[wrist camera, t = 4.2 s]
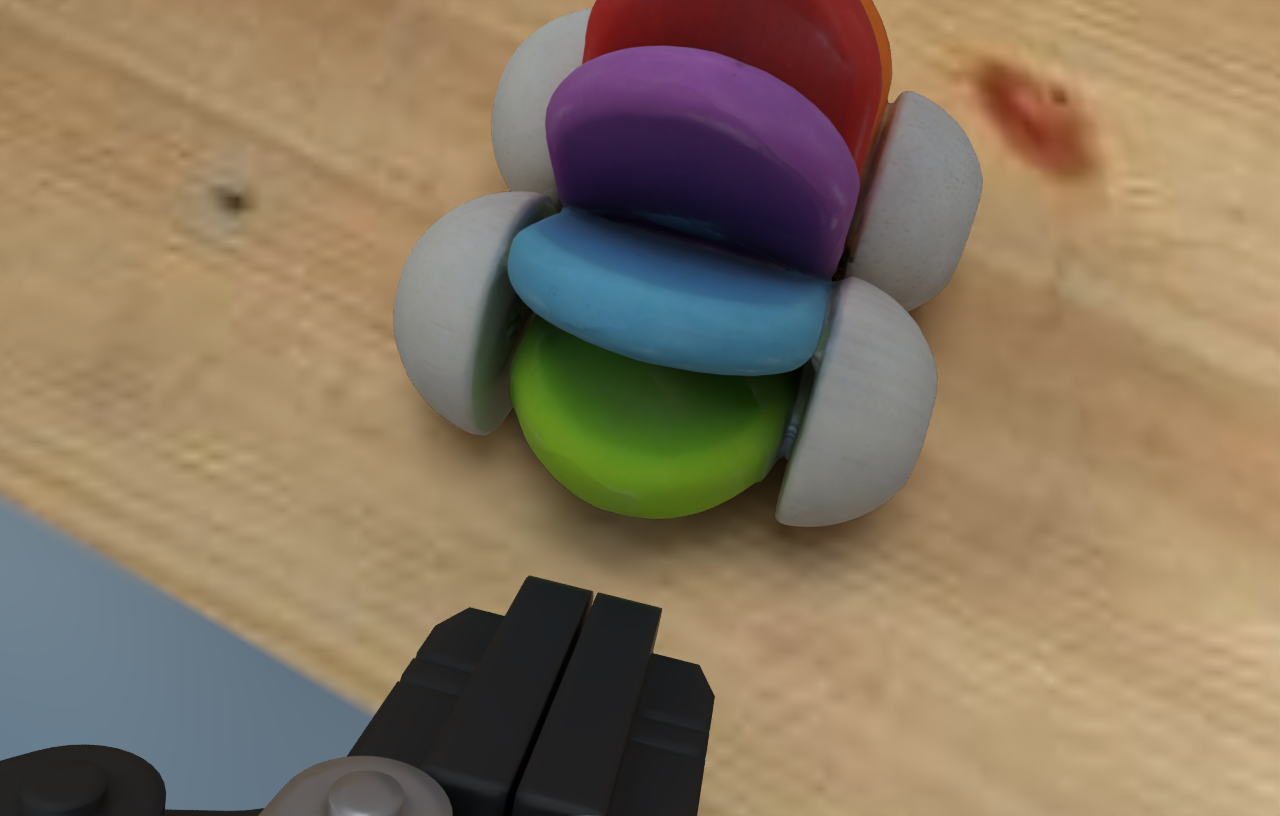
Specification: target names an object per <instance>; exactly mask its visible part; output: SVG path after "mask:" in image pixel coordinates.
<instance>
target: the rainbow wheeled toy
mask: <svg viewBox="0 0 1280 816" xmlns="http://www.w3.org/2000/svg"><path fill="white" fill-rule="evenodd" d="M891 80H892V61H891V51H890V45H889V41H888V37H887V34H886V30H885V28H884V25H883V22H882V19H881V17H880V15H879V13H878V11H877V9H876V7H875V5H874V3H873V1H872V0H596V2H595V4H594V6H593V8H592V9H585V10H581V11H576V12H571V13H569V14H566V15H564V16H561V17H559V18H556V19H554V20H552V21H550V22H548V23H547V24H545V25H544V26H542V27H541V28H539V29H538V30H536V31H535V32H534V33H533V34H531V35H530V36H529V37H528V38H527V39H526V40H525V41H524V42H523V43H522V44H521V45H520V46H519V47H518V49H517V50H516V51H515V52H514V54H513V55H512V57H511V59H510V60H509V62H508V63H507V66H506V68H505V70H504V72H503V75H502V77H501V80H500V83H499V85H498V88H497V92H496V97H495V101H494V105H493V112H492V120H491V135H492V144H493V150H494V154H495V158H496V161H497V164H498V167H499V169H500V171H501V174H502V176H503V178H504V180H505V182H506V184H507V185H508V187H509V189H510V190H511V191H508V192H501V193H495V194H490V195H486V196H482V197H479V198H476V199H473V200H471V201H468V202H466V203H464V204H462V205H460V206H458V207H456V208H454V209H453V210H451V211H450V212H448V213H447V214H445V215H444V216H442V217H441V218H440V219H439V220H438V221H437V222H435V223H434V224H433V225H432V226H431V227H430V228H429V229H428V230H427V231H426V232H425V233H424V234H423V236H422V237H421V238H420V239H419V240H418V242H417V243H416V245H415V246H414V248H413V250H412V251H411V253H410V255H409V257H408V259H407V261H406V263H405V266H404V269H403V271H402V274H401V277H400V280H399V284H398V289H397V293H396V297H395V304H394V312H393V321H394V333H395V340H396V344H397V348H398V351H399V354H400V357H401V360H402V363H403V365H404V368H405V370H406V373H407V375H408V377H409V378H410V380H411V382H412V383H413V385H414V387H415V388H416V389H417V391H418V392H419V393H420V395H421V396H422V397H423V398H424V400H425V401H426V402H427V403H428V404H429V405H430V406H431V407H432V408H433V409H434V410H435V411H436V412H437V413H439V414H440V415H441V416H442V417H444V418H445V419H446V420H448V421H449V422H451V423H452V424H454V425H456V426H457V427H459V428H461V429H463V430H465V431H467V432H469V433H471V434H475V435H487V434H489V433H490V432H492V431H494V430H495V429H497V428H498V427H499V426H500V424H501V423H502V422H503V421H504V419H505V418H506V417H507V415H508V414H509V413H510V411H511V409H512V408H514V410H515V412H516V414H517V417H518V420H519V423H520V426H521V429H522V431H523V433H524V436H525V438H526V440H527V442H528V444H529V445H530V447H531V449H532V450H533V452H534V453H535V455H536V456H537V457H538V459H539V460H540V461H541V463H542V464H543V465H544V467H545V468H546V469H547V470H548V471H549V472H550V474H551V475H552V476H553V477H554V478H555V479H556V480H557V481H558V482H560V483H561V484H562V485H563V486H564V487H565V488H566V489H568V490H569V491H570V492H572V493H573V494H574V495H575V496H577V497H578V498H580V499H582V500H584V501H585V502H587V503H589V504H591V505H593V506H595V507H597V508H599V509H602V510H606V511H610V512H614V513H618V514H622V515H626V516H632V517H641V518H653V519H665V518H677V517H682V516H687V515H691V514H695V513H699V512H702V511H705V510H708V509H710V508H713V507H715V506H717V505H719V504H721V503H723V502H725V501H727V500H729V499H731V498H733V497H734V496H736V495H738V494H739V493H741V492H743V491H744V490H746V489H747V488H748V487H750V486H751V485H752V484H754V483H756V482H760V481H762V480H763V479H764V478H765V477H766V476H767V474H768V473H769V472H770V470H771V469H772V467H773V466H774V464H775V462H776V461H777V460H778V459H779V458H781V457H785V458H786V459H787V460H788V462H787V466H786V469H785V473H784V477H783V481H782V485H781V489H780V493H779V497H778V501H777V505H776V509H775V517H776V519H777V520H778V522H780V523H782V524H785V525H790V526H801V527H818V526H827V525H833V524H838V523H842V522H846V521H850V520H853V519H855V518H858V517H860V516H862V515H865V514H867V513H869V512H870V511H872V510H874V509H876V508H877V507H879V506H880V505H882V504H883V503H885V502H886V501H888V500H889V499H891V498H892V497H893V496H894V495H895V494H896V493H897V492H898V491H899V490H900V489H901V488H902V487H903V486H904V485H905V483H906V481H907V480H908V478H909V476H910V474H911V472H912V470H913V468H914V466H915V464H916V461H917V459H918V456H919V453H920V450H921V448H922V445H923V442H924V439H925V435H926V432H927V429H928V425H929V422H930V419H931V415H932V411H933V407H934V403H935V398H936V391H937V370H936V366H935V362H934V358H933V355H932V353H931V350H930V348H929V345H928V343H927V341H926V339H925V337H924V335H923V333H922V332H921V330H920V328H919V326H918V325H917V323H916V322H915V321H914V320H913V318H912V317H911V316H910V314H909V313H908V312H909V311H911V310H913V309H915V308H917V307H919V306H921V305H922V304H924V303H925V302H927V301H928V300H930V299H931V298H933V297H934V296H936V295H937V294H938V293H940V292H941V291H942V289H943V288H944V287H945V286H946V285H947V284H948V283H949V281H950V279H951V277H952V275H953V273H954V271H955V269H956V267H957V264H958V262H959V260H960V257H961V255H962V252H963V249H964V247H965V244H966V242H967V239H968V236H969V233H970V230H971V227H972V224H973V220H974V217H975V214H976V211H977V208H978V204H979V201H980V196H981V191H982V184H983V179H982V173H981V168H980V164H979V161H978V159H977V156H976V153H975V151H974V149H973V146H972V144H971V142H970V140H969V139H968V137H967V135H966V134H965V132H964V131H963V130H962V128H961V127H960V126H959V124H958V123H957V122H956V121H955V120H954V119H953V118H952V117H951V116H950V115H949V114H948V113H947V112H946V111H945V110H944V109H942V108H941V107H940V106H938V105H937V104H935V103H934V102H932V101H931V100H929V99H927V98H926V97H924V96H922V95H920V94H918V93H915V92H913V91H905V92H902V93H901V94H900V95H899V96H898V98H897V99H896V100H895V102H894V103H888V99H887V98H888V94H889V89H890V85H891ZM837 266H838V267H840V268H841V273H840V278H839V281H836V282H832V281H831V278H832V277H833V275H834V274H835V272H836V268H837Z"/></svg>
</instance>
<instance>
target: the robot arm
mask: <svg viewBox="0 0 1280 816" xmlns="http://www.w3.org/2000/svg"><path fill="white" fill-rule="evenodd" d="M592 601H593V591H590V590H586V589H582V588H578V587H574V586H570V585H566V584H562V583H558V582H554V581H550V580H546V579H541V578H537V577H533V576H528V577H527V578H526V580H525V581H524V583H523V585H522V587H521V588H520V590H519V592H518V594H517V596H516V597H515V599H514V601H513V603H512V604H511V606H510V608H509V610H508V612H507V613H506V615H505V616H502V615H498V614H494V613H490V612H486V611H482V610H478V609H474V608H470V607H469V608H467V609H466V610H464V611H462V612H460V613H458V614H456V615H454V616H453V617H451V618H449V619H447V620H445V621H443V622H441V623H440V624H438V625H436V626H435V627H434V628H433V630H432V631H431V633H430V634H429V636H428V637H427V639H426V640H425V642H424V643H423V645H422V646H421V648H420V649H419V651H418V652H417V655H416V658H415V659H414V658H413V659H412V661H411V662H410V664H409V665H408V667H407V668H406V670H405V671H404V673H403V674H402V677H401V680H400V682H399V681H398V682H397V683H396V685H395V686H394V688H393V689H392V690H391V692H390V693H389V695H388V696H387V698H386V699H385V701H384V702H383V704H382V705H381V707H380V708H379V710H378V711H377V713H376V714H375V716H374V717H373V719H372V720H371V721H370V723H369V725H368V726H367V727H366V729H365V730H364V732H363V733H362V735H361V736H360V738H359V739H358V741H357V742H356V744H355V745H354V747H353V748H352V749H351V751H350V753H349V754H348V755H347V757H342V758H338V759H332V760H328V761H325V762H322V763H319V764H316V765H314V766H312V767H310V768H308V769H306V770H304V771H302V772H301V773H299V774H298V775H297V776H295V777H293V779H291V780H290V781H289V782H288V783H287V784H286V785H285V786H284V787H283V788H282V789H281V790H280V791H279V793H278V794H277V795H276V796H275V797H274V799H272V801H271V802H270V803H269V804H268V805H267V806H266V807H265V808H262V809H255V810H245V811H206V810H165V801H166V790H165V786H164V782H163V780H162V778H161V776H160V774H159V773H158V771H157V770H156V769H155V768H154V767H153V766H152V765H151V764H149V763H148V762H147V761H145V760H144V759H143V758H141V757H139V756H137V755H135V754H133V753H130V752H127V751H124V750H121V749H118V748H112V747H107V746H100V745H99V746H98V745H66V746H59V747H51V748H47V749H43V750H38V751H34V752H31V753H27V754H23V755H20V756H16V757H12V758H9V759H5V760H2V761H0V816H697V812H698V806H699V799H700V792H701V785H702V779H703V772H704V765H705V757H706V752H707V745H708V739H709V730H710V725H711V718H712V712H713V705H714V698H715V696H714V694H713V692H712V690H711V688H710V686H709V684H708V682H707V680H706V677H705V675H704V673H703V671H702V669H701V667H700V665H698V664H694V663H690V662H686V661H682V660H678V659H674V658H670V657H666V656H662V655H658V654H654V653H653V649H654V644H655V640H656V636H657V631H658V627H659V622H660V618H661V613H662V608H659V607H655V606H651V605H647V604H643V603H639V602H635V601H631V600H627V599H623V598H619V597H615V596H611V595H607V594H603V593H597V595H596V598H595V600H594V602H593V605H592Z"/></svg>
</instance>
